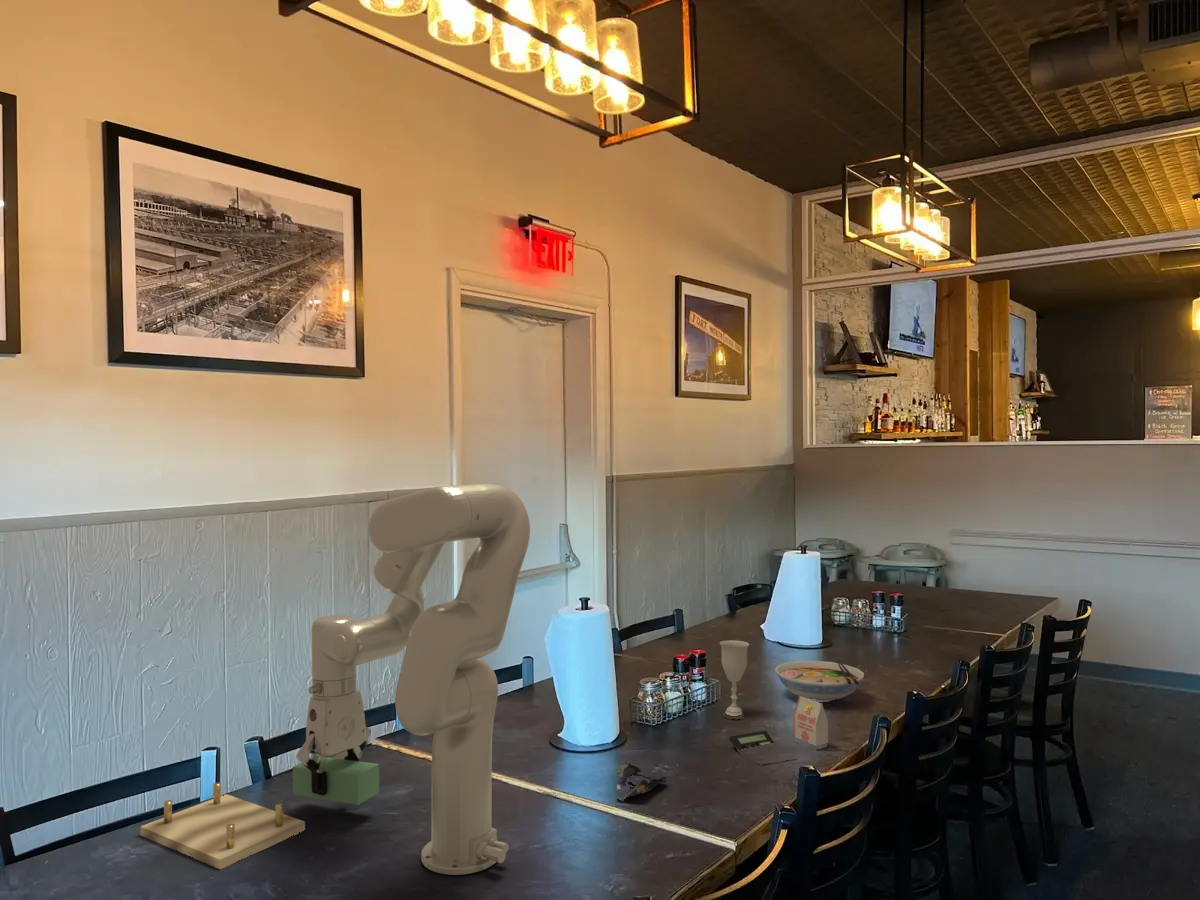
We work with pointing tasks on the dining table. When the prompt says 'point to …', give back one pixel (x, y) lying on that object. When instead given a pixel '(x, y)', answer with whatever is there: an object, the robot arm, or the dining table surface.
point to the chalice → (734, 668)
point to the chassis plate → (222, 829)
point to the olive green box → (340, 781)
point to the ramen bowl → (819, 679)
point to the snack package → (643, 786)
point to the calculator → (751, 740)
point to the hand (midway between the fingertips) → (335, 785)
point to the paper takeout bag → (810, 722)
